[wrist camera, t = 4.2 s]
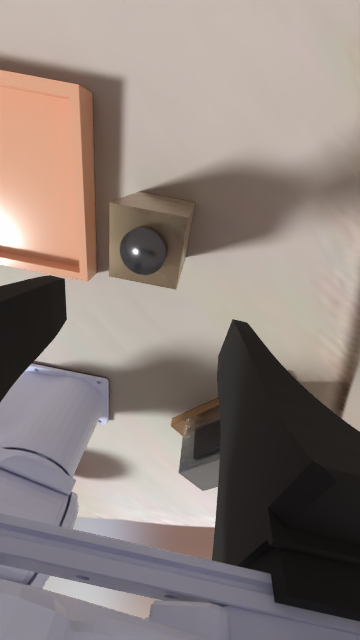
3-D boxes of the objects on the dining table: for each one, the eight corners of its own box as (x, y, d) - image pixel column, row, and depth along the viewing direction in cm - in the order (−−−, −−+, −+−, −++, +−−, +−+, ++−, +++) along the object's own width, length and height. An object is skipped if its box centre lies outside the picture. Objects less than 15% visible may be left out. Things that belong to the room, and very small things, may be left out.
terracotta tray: (-37, 247, 21) (-56, 253, 20) (-97, 57, 15) (-131, 45, 14) (96, 273, 21) (87, 281, 20) (92, 92, 15) (78, 84, 13)
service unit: (172, 418, 30) (163, 469, 25) (278, 370, 25) (295, 424, 19) (206, 448, 33) (205, 500, 28) (311, 411, 27) (333, 468, 22)
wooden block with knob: (135, 247, 20) (104, 280, 14) (139, 191, 18) (104, 204, 12) (185, 257, 20) (174, 294, 14) (195, 202, 17) (186, 220, 12)
